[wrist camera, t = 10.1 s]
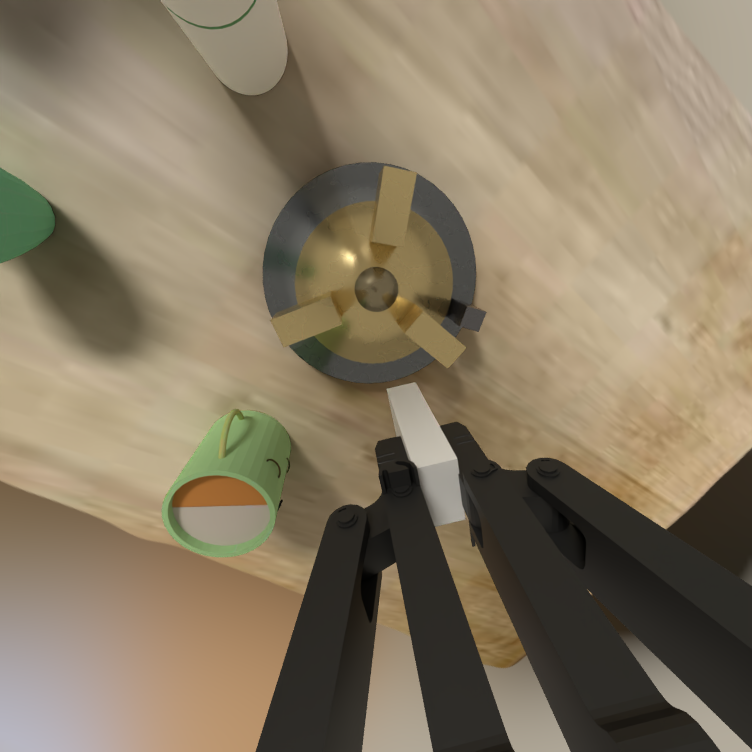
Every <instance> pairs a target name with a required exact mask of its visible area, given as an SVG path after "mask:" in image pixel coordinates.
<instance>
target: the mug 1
mask: <svg viewBox="0 0 752 752" xmlns="http://www.w3.org/2000/svg"><path fill="white" fill-rule="evenodd" d="M54 227H55V216H54V213H53V211H52V208H51V206H50V205H49V203H48V202H47V200H46V199H45V198H44V197H43V196H42V195H41V194H39V193H38V192H37V191H36V190H34V189H33V188H31V187H30V186H29V185H27V184H26V183H25V182H23V181H22V180H20V179H18V178H17V177H15V176H13V175H12V174H10V173H8V172H7V171H5V170H3V169H1V168H0V263H2V262H5V261H8V260H11V259H13V258H15V257H17V256H20V255H22V254H24V253H26V252H27V251H29V250H31V249H33V248H35V247H37V246H38V245H39V244H40V243H42V242H43V241H44V240H45V239H47V238H48V237H49V236H50V235H51V234H52V233H53V230H54Z"/></svg>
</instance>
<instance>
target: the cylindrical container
mask: <svg viewBox="0 0 752 752" xmlns="http://www.w3.org/2000/svg"><path fill="white" fill-rule="evenodd" d="M160 1H161V2H162V3H163V5H164V6H165V7H166V9H167V10H168V12H169V13H170V14H171V16H172V17H173V18H174V20H175V21H176V22H177V24H178V25H179V26H180V28H181V29H182V30H183V32H184V33H185V35H186V36H187V37H188V39H189V40H190V41H191V43H192V44H193V45H194V47H195V48H196V49H197V51H198V52H199V54H200V55H201V56H202V58H203V59H204V60H205V62H206V63H207V64H208V66H209V67H210V68H211V70H212V71H213V72H214V74H215V75H216V77H217V78H218V79H219V80H220V81H221V82H222V83H223V84H224V85H226V86H227V87H228V88H230V89H231V90H233V91H235V92H237V93H240V94H244V95H259V94H263V93H265V92H267V91H269V90H271V89H272V88H273V87H274V86H275V85H276V84H277V83H278V82H279V80H280V79H281V77H282V75H283V73H284V71H285V67H286V63H287V55H288V48H287V39H286V35H285V31H284V27H283V23H282V19H281V15H280V11H279V7H278V3H277V0H160Z"/></svg>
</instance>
